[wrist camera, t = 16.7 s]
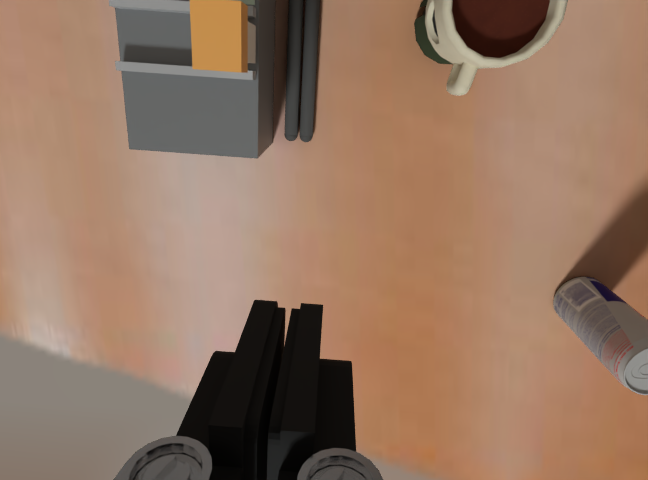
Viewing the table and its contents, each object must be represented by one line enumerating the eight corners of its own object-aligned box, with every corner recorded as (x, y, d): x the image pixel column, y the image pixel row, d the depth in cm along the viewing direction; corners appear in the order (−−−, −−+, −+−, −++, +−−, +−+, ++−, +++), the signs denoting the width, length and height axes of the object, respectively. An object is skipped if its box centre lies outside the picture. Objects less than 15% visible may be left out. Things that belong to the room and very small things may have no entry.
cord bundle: (291, -50, 35) (289, -54, 34) (323, -48, 35) (322, -52, 34) (285, 139, 40) (283, 141, 39) (312, 141, 40) (311, 143, 39)
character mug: (434, -62, 34) (487, -136, 22) (516, -34, 35) (612, -92, 23) (389, 78, 38) (413, 80, 26) (464, 101, 39) (522, 114, 26)
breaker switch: (220, 13, 29) (189, -3, 23) (261, 16, 29) (240, 1, 23) (221, 70, 30) (192, 69, 24) (260, 72, 30) (241, 72, 24)
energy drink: (604, 313, 46) (689, 390, 35) (553, 323, 47) (621, 402, 35) (603, 270, 44) (693, 336, 33) (550, 281, 45) (620, 350, 34)
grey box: (154, -65, 35) (93, -111, 26) (276, -57, 35) (256, -100, 26) (167, 135, 40) (122, 151, 32) (272, 142, 40) (254, 161, 32)
